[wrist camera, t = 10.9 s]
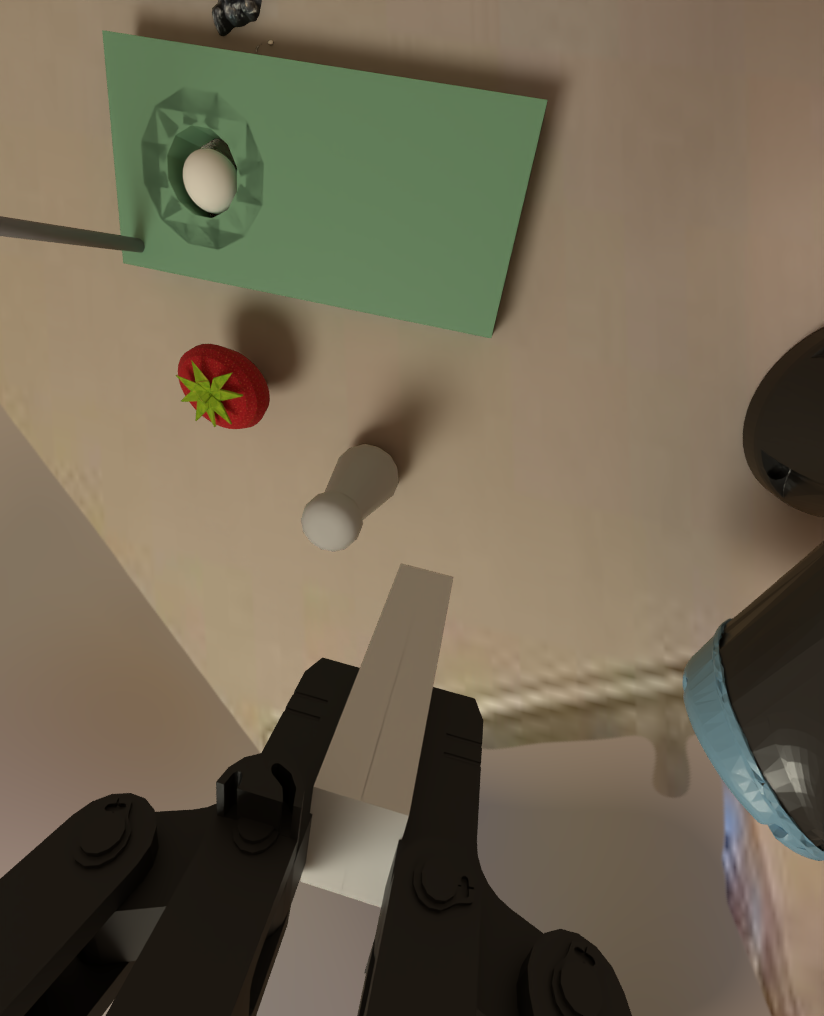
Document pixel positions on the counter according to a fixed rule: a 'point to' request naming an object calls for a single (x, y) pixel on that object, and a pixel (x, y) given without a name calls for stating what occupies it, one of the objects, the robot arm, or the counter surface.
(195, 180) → the white ball
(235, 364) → the strawberry
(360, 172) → the board
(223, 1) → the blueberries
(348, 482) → the salt shaker
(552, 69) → the counter surface
